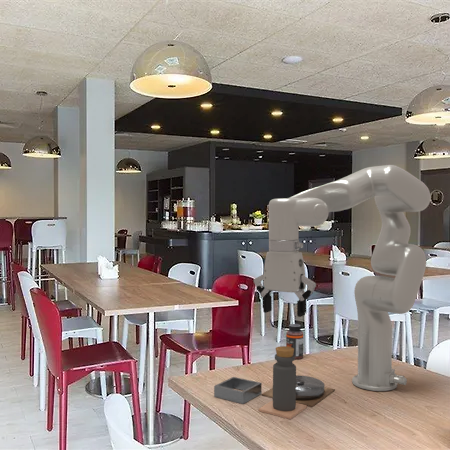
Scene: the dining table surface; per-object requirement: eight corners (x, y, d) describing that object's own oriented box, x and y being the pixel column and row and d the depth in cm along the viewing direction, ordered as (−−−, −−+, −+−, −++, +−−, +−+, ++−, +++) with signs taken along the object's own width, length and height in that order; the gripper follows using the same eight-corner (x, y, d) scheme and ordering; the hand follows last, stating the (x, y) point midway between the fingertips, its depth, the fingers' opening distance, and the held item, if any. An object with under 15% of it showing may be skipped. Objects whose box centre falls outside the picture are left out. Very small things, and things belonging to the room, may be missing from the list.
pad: (306, 407, 130) (306, 405, 130) (290, 419, 122) (290, 416, 122) (276, 400, 135) (276, 398, 135) (258, 411, 127) (258, 408, 127)
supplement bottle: (282, 356, 176) (282, 324, 176) (294, 354, 180) (294, 322, 179) (294, 360, 171) (294, 327, 171) (306, 357, 175) (307, 325, 175)
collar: (261, 393, 140) (261, 382, 140) (243, 404, 132) (243, 392, 132) (233, 387, 145) (233, 376, 145) (214, 396, 138) (214, 385, 138)
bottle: (294, 412, 125) (295, 352, 125) (271, 410, 126) (272, 350, 126) (296, 403, 131) (297, 346, 130) (273, 401, 132) (274, 344, 132)
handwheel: (285, 379, 150) (285, 352, 150) (331, 387, 143) (331, 359, 143) (264, 393, 138) (264, 364, 138) (313, 403, 131) (313, 372, 130)
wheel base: (334, 390, 142) (334, 389, 142) (312, 407, 130) (312, 405, 130) (287, 380, 151) (287, 379, 151) (261, 395, 138) (261, 394, 138)
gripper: (321, 247, 127) (321, 314, 127) (261, 245, 136) (262, 308, 137) (308, 249, 120) (308, 320, 121) (246, 246, 130) (247, 312, 131)
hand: (284, 313), depth 129 cm, fingers open, 9 cm apart
